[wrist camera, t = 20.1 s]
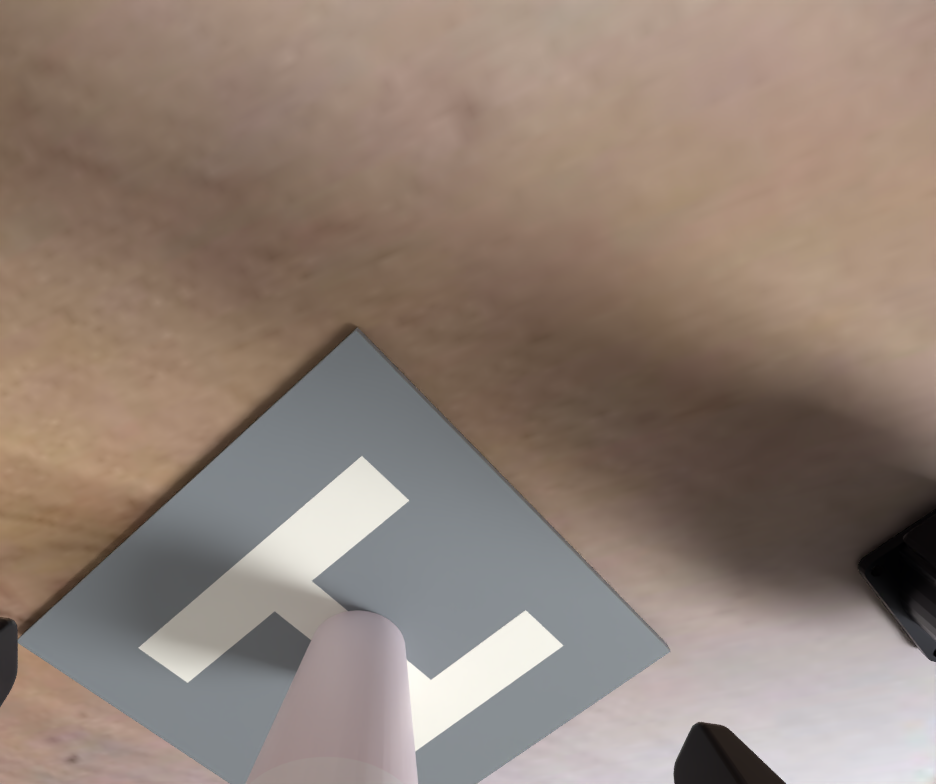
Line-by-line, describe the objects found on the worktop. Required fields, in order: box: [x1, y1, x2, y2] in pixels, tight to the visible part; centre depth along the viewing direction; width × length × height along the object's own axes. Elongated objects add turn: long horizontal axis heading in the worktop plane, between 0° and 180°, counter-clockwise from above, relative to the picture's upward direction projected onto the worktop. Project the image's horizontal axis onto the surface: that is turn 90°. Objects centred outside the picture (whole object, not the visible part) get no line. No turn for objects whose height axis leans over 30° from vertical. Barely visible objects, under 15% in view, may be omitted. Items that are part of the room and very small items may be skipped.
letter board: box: [18, 327, 671, 784], centre depth 23 cm, size 18×18×1 cm
